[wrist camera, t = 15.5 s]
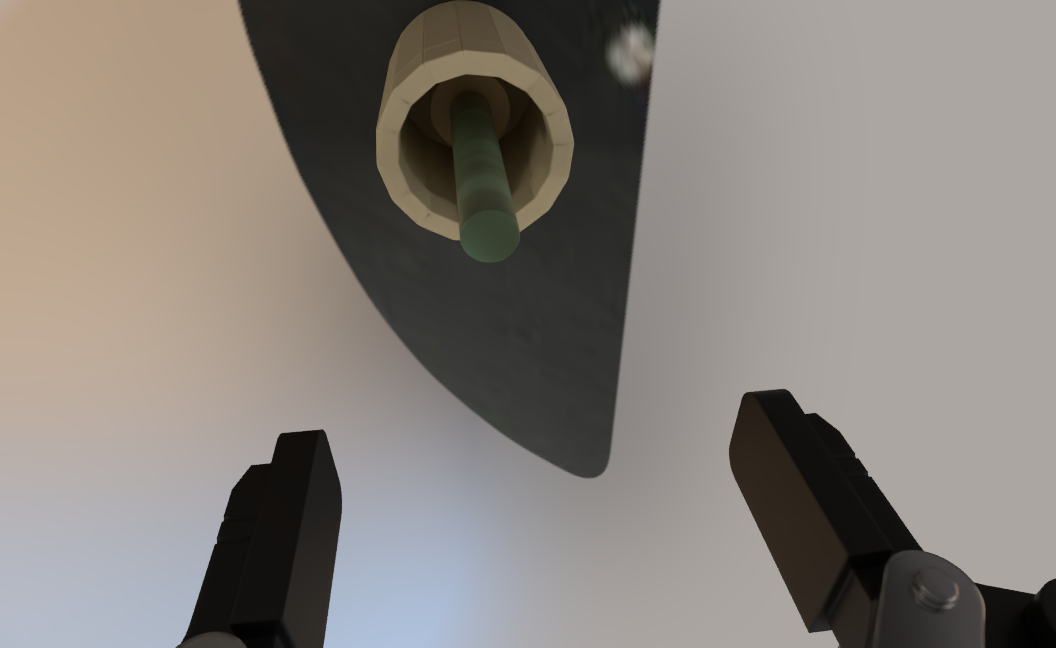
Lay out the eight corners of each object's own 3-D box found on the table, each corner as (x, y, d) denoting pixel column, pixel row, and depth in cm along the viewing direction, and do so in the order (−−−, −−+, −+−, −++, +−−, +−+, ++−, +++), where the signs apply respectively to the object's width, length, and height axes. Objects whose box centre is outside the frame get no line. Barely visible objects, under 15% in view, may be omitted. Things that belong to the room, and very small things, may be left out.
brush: (448, 33, 33) (462, 159, 19) (515, 69, 35) (572, 211, 21) (417, 101, 35) (409, 261, 21) (482, 133, 37) (514, 303, 23)
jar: (427, -32, 32) (426, 9, 23) (564, 48, 35) (609, 112, 26) (367, 113, 36) (346, 196, 27) (495, 174, 39) (514, 266, 30)
